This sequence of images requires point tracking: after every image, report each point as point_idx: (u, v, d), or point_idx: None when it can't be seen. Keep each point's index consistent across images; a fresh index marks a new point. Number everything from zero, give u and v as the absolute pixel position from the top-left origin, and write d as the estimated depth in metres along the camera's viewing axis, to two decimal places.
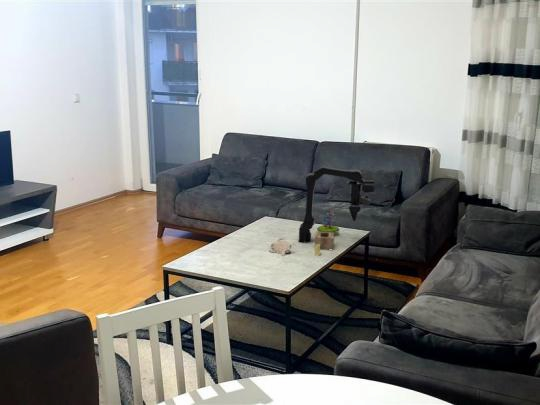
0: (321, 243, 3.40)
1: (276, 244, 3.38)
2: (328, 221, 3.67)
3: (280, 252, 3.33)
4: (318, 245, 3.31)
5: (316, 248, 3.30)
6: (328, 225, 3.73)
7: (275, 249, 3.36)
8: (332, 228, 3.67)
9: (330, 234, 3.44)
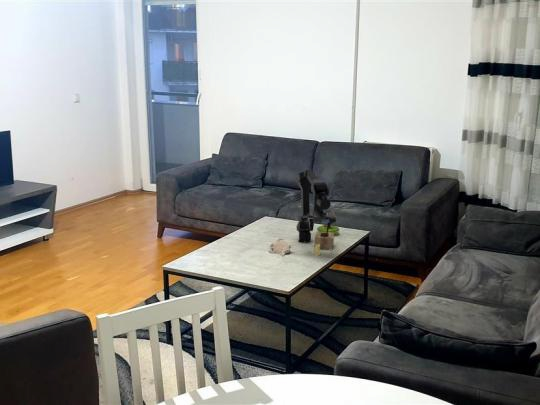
0: (321, 243, 3.40)
1: (275, 244, 3.37)
2: None
3: (280, 252, 3.33)
4: (318, 245, 3.31)
5: (316, 248, 3.30)
6: None
7: (274, 249, 3.35)
8: (332, 228, 3.67)
9: (330, 234, 3.44)
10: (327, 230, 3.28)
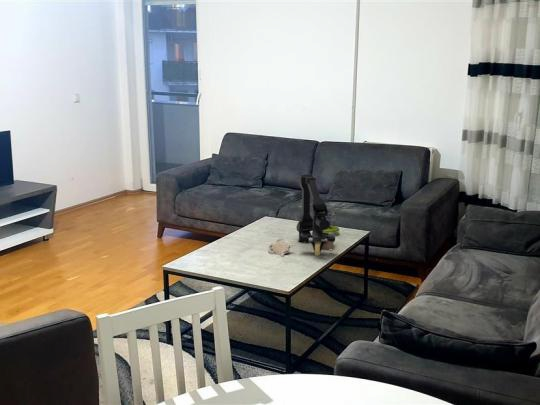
0: None
1: (275, 245, 3.36)
2: None
3: (279, 253, 3.32)
4: (318, 245, 3.31)
5: (316, 248, 3.30)
6: None
7: (274, 250, 3.34)
8: (332, 228, 3.67)
9: None
10: (320, 249, 3.31)
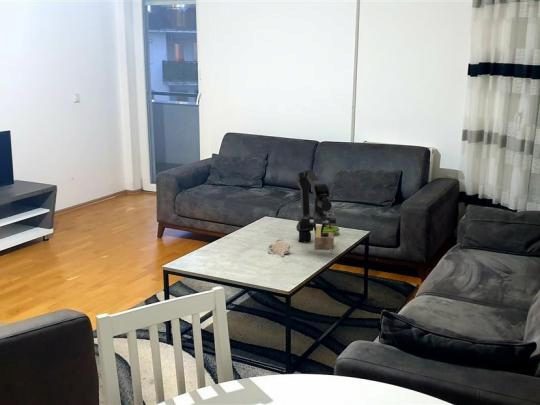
0: (321, 243, 3.40)
1: (274, 245, 3.36)
2: (328, 221, 3.67)
3: (279, 253, 3.32)
4: (319, 227, 3.30)
5: (317, 230, 3.29)
6: (328, 225, 3.73)
7: (274, 250, 3.34)
8: (332, 228, 3.67)
9: (330, 234, 3.44)
10: (321, 231, 3.30)
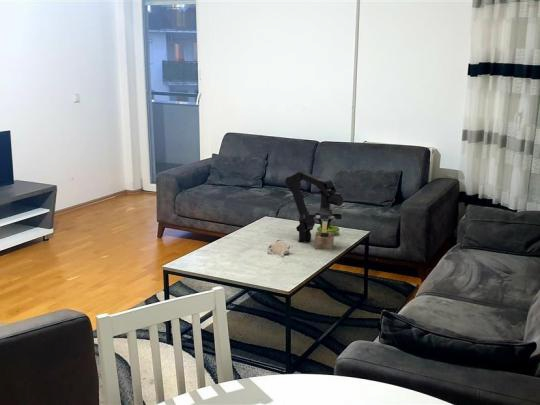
0: (321, 243, 3.40)
1: (274, 245, 3.36)
2: None
3: (279, 253, 3.31)
4: (325, 222, 3.41)
5: (323, 225, 3.39)
6: None
7: (273, 250, 3.33)
8: (332, 228, 3.67)
9: (330, 234, 3.44)
10: (327, 226, 3.41)
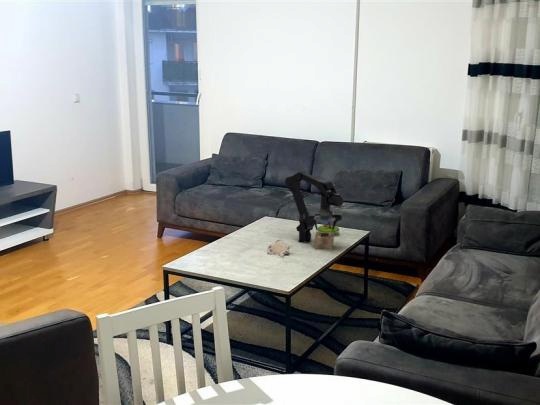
0: (321, 243, 3.40)
1: (274, 246, 3.35)
2: (328, 221, 3.67)
3: (278, 254, 3.31)
4: None
5: None
6: (328, 225, 3.73)
7: (273, 251, 3.33)
8: None
9: (330, 234, 3.44)
10: (333, 228, 3.41)
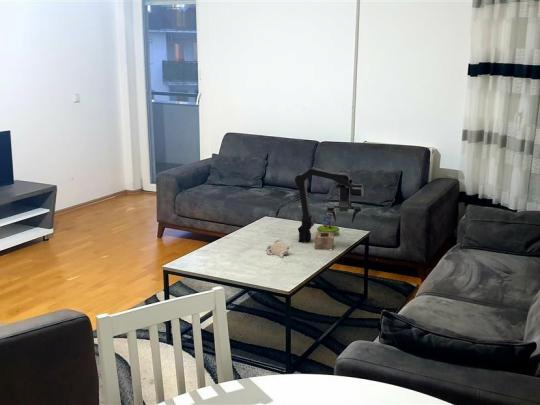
0: (321, 243, 3.40)
1: (273, 246, 3.34)
2: (328, 221, 3.67)
3: (278, 254, 3.30)
4: None
5: None
6: (328, 225, 3.73)
7: (272, 251, 3.32)
8: (332, 228, 3.67)
9: (330, 234, 3.44)
10: (353, 219, 3.42)
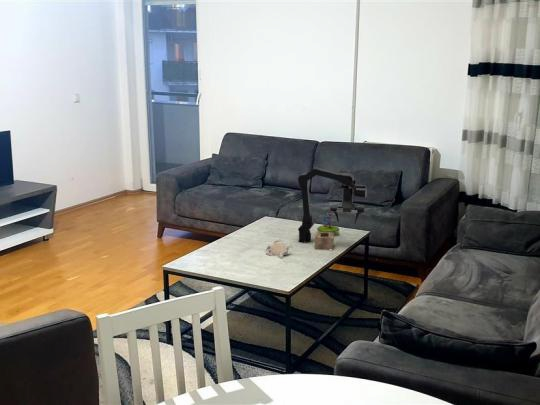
0: (321, 243, 3.40)
1: (273, 246, 3.34)
2: (328, 221, 3.67)
3: (277, 254, 3.30)
4: None
5: None
6: (328, 225, 3.73)
7: (272, 252, 3.32)
8: (332, 228, 3.67)
9: (330, 234, 3.44)
10: (355, 220, 3.43)
